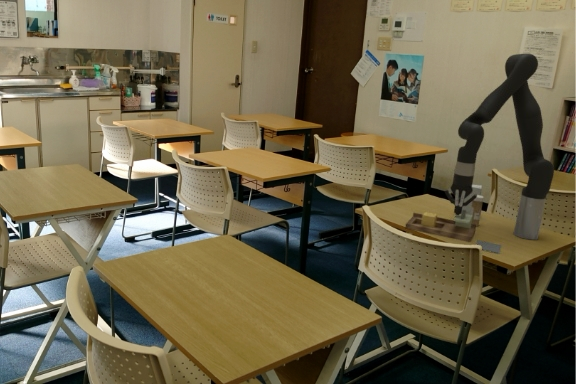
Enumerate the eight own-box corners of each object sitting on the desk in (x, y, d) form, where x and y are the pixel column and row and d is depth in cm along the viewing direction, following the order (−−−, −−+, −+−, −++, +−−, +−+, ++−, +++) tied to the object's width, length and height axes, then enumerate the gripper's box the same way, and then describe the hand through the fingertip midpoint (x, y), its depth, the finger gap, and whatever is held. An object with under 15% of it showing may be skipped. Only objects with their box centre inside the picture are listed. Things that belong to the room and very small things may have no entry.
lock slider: (470, 227, 215) (473, 209, 213) (467, 234, 206) (470, 215, 204) (455, 224, 218) (458, 206, 216) (451, 231, 208) (454, 212, 206)
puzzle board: (474, 233, 216) (476, 224, 214) (470, 243, 204) (472, 233, 203) (412, 221, 226) (413, 212, 225) (405, 229, 215) (406, 220, 214)
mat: (501, 245, 204) (501, 244, 204) (499, 253, 195) (499, 252, 195) (474, 240, 208) (474, 239, 208) (471, 247, 199) (471, 246, 199)
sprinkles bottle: (477, 228, 223) (482, 198, 220) (466, 225, 226) (471, 196, 222) (479, 225, 227) (484, 195, 224) (468, 223, 229) (473, 193, 226)
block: (434, 227, 218) (437, 214, 216) (432, 231, 213) (434, 217, 212) (423, 225, 220) (424, 212, 218) (420, 228, 215) (422, 214, 214)
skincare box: (477, 216, 241) (483, 185, 237) (476, 219, 235) (482, 188, 231) (459, 213, 244) (464, 182, 240) (457, 216, 238) (462, 185, 234)
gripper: (482, 174, 207) (475, 215, 212) (448, 168, 212) (442, 209, 217) (480, 177, 201) (473, 220, 205) (445, 171, 206) (439, 213, 211)
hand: (457, 214), depth 211 cm, fingers closed
